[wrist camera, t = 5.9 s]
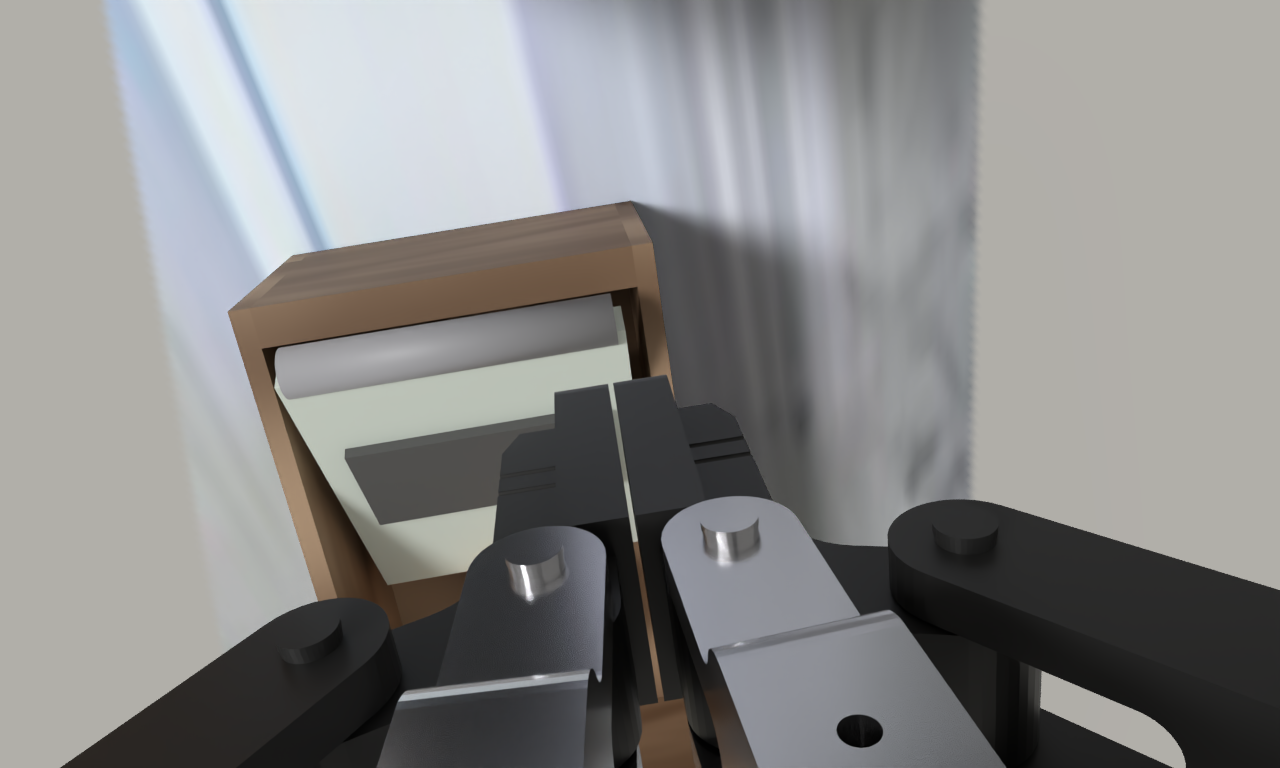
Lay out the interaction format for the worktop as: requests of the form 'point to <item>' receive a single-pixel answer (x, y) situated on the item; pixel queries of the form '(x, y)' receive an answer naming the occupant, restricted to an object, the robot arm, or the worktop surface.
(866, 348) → the worktop surface
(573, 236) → the bin
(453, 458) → the flap
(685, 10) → the worktop surface
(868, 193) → the worktop surface
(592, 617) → the robot arm
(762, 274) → the worktop surface
